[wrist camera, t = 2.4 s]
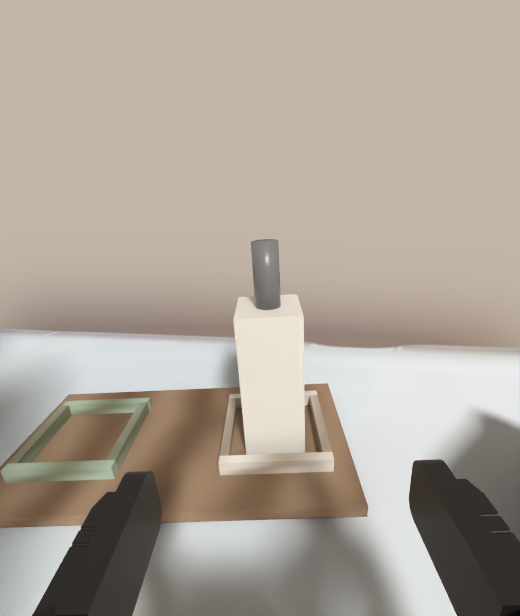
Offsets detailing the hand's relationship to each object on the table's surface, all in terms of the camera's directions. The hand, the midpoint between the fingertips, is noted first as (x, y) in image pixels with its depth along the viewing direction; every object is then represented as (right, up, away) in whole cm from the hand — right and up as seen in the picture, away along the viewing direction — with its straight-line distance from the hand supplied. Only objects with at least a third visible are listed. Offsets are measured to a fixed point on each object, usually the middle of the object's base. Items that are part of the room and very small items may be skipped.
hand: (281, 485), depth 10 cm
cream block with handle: (0, -4, +14) cm, 14 cm away
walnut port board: (-7, -5, +14) cm, 16 cm away
